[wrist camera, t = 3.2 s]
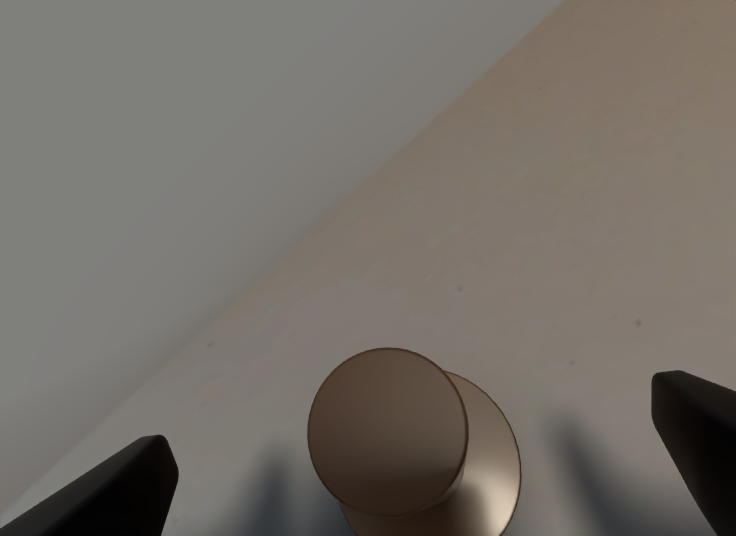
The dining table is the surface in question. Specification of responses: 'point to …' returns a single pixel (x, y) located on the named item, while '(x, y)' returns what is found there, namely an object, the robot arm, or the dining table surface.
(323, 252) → the dining table surface
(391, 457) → the brown flanged post
